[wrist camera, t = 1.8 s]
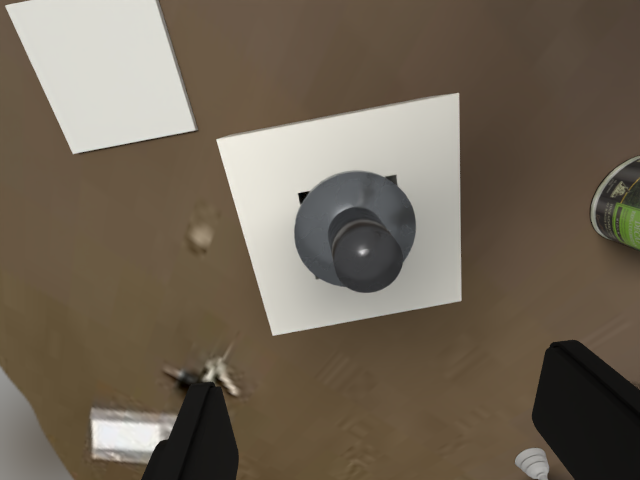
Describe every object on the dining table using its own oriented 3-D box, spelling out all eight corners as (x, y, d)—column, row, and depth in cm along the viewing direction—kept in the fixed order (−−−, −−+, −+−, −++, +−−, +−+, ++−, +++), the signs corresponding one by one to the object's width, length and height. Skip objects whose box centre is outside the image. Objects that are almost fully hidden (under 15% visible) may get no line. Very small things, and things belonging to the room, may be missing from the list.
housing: (430, 96, 31) (459, 92, 26) (438, 273, 39) (461, 300, 33) (230, 134, 32) (216, 139, 26) (276, 303, 39) (272, 335, 34)
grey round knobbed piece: (391, 151, 33) (441, 173, 21) (399, 249, 37) (446, 311, 25) (285, 172, 33) (277, 204, 21) (305, 266, 37) (308, 337, 25)
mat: (152, -20, 27) (148, -24, 26) (198, 129, 31) (195, 130, 31) (13, 8, 27) (5, 5, 26) (78, 152, 31) (73, 153, 31)
